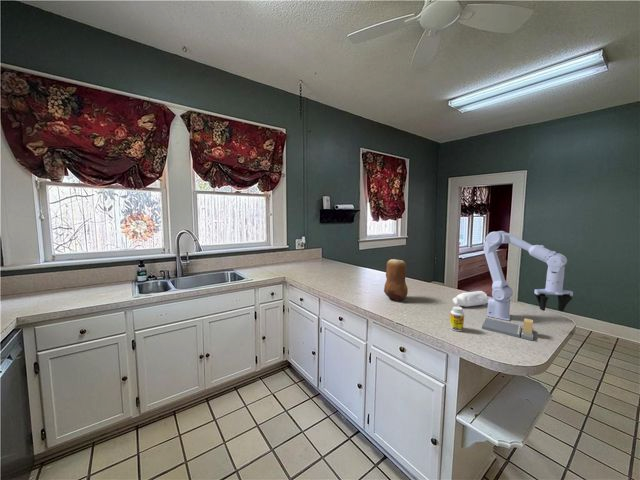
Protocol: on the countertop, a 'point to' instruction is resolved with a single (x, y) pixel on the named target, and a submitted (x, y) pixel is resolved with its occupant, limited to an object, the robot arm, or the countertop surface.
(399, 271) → the butternut squash
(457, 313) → the supplement bottle
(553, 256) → the robot arm
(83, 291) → the countertop surface
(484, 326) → the grey studded panel
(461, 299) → the white bottle
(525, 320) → the stub
